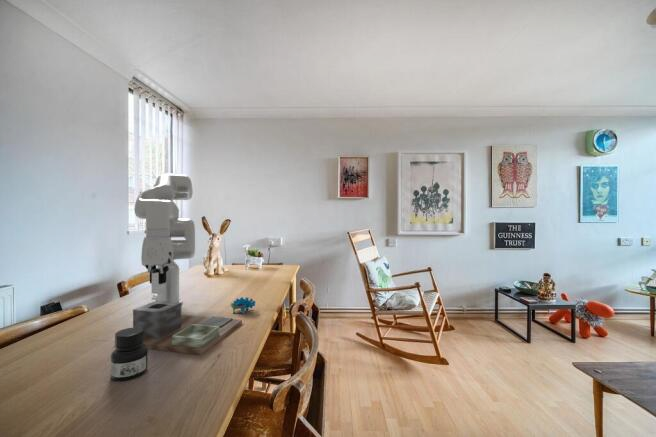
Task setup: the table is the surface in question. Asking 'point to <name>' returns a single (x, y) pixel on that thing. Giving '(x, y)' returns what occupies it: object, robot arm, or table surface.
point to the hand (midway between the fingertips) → (158, 282)
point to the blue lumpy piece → (242, 304)
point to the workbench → (180, 328)
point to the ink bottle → (129, 354)
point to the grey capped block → (156, 282)
